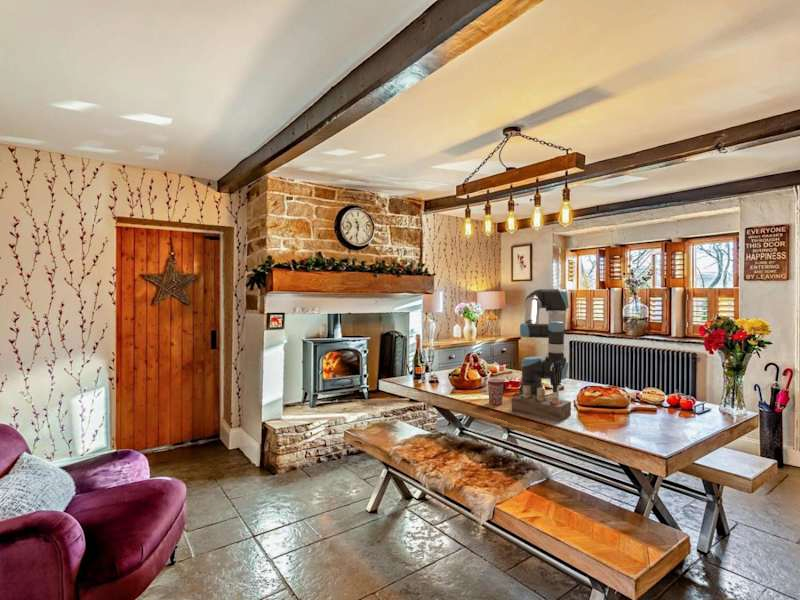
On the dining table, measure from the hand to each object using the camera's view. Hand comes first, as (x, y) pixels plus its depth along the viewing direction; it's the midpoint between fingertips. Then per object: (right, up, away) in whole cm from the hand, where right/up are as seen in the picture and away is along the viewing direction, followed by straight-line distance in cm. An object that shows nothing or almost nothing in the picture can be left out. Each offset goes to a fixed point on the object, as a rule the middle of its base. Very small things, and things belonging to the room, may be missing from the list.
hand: (555, 397), depth 227 cm
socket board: (-6, -9, +6) cm, 12 cm away
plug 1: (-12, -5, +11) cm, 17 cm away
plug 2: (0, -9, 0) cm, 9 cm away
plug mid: (-6, -5, +6) cm, 9 cm away
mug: (-24, -9, +26) cm, 36 cm away
